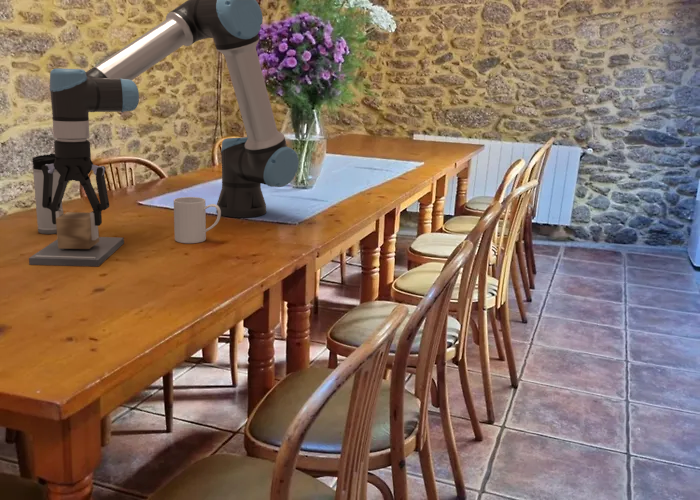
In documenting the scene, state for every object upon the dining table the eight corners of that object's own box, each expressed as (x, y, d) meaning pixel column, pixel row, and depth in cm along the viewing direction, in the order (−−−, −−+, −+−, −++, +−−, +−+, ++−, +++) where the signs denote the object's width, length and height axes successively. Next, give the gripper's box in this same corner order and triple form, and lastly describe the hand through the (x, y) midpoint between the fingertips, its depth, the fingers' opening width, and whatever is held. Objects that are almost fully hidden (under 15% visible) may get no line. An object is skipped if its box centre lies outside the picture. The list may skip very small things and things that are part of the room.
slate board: (123, 243, 171) (123, 236, 170) (98, 266, 151) (97, 259, 151) (62, 241, 170) (62, 235, 169) (29, 264, 151) (28, 257, 150)
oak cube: (99, 241, 164) (97, 212, 162) (89, 248, 157) (87, 219, 155) (69, 240, 163) (67, 212, 162) (58, 248, 157) (55, 218, 155)
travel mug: (70, 230, 181) (65, 154, 176) (52, 235, 175) (46, 157, 170) (51, 227, 183) (45, 152, 178) (32, 232, 177) (26, 155, 172)
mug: (169, 242, 174) (168, 201, 171) (182, 235, 181) (181, 196, 178) (214, 246, 171) (214, 205, 169) (226, 239, 179) (225, 199, 176)
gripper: (121, 139, 158) (126, 235, 164) (33, 136, 157) (41, 233, 163) (112, 143, 150) (116, 243, 156) (19, 139, 150) (27, 240, 156)
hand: (78, 238), depth 160 cm, fingers closed on oak cube, 7 cm apart
